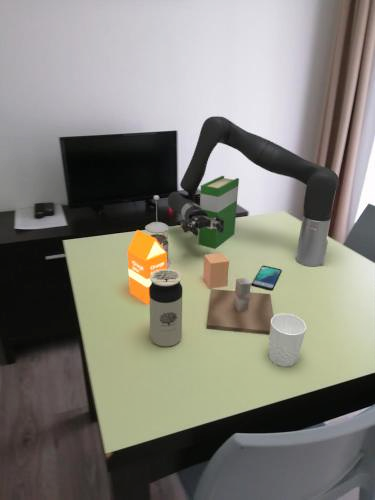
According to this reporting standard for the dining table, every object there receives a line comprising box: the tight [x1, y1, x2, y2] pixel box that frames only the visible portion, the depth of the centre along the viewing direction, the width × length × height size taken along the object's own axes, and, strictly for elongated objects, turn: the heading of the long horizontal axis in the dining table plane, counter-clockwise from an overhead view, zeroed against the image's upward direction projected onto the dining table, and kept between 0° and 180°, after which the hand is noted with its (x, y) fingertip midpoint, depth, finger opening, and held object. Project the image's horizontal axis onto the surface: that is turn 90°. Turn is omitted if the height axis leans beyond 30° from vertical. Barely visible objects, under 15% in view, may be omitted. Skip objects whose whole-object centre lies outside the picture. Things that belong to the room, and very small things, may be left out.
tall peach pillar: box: [202, 252, 230, 289], centre depth 116 cm, size 6×6×9 cm
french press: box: [144, 194, 172, 268], centre depth 124 cm, size 10×12×25 cm
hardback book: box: [198, 175, 240, 250], centre depth 143 cm, size 18×7×24 cm, turn 149°
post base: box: [206, 277, 274, 335], centre depth 101 cm, size 18×18×10 cm
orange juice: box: [126, 229, 168, 306], centre depth 106 cm, size 8×9×20 cm
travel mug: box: [149, 268, 183, 347], centre depth 89 cm, size 8×8×18 cm
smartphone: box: [251, 265, 283, 292], centre depth 121 cm, size 7×1×15 cm
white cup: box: [267, 313, 307, 368], centre depth 85 cm, size 8×8×10 cm
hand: (209, 231), depth 118 cm, fingers open, 8 cm apart
